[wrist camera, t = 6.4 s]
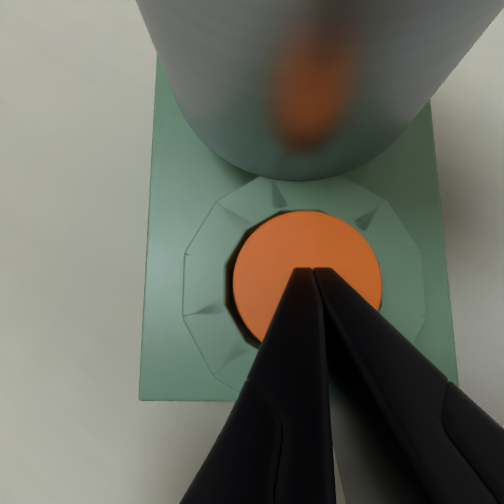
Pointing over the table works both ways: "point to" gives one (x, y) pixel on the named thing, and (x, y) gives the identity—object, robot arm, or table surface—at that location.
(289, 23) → the kettle
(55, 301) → the table surface
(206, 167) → the kettle base
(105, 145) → the table surface
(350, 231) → the button
